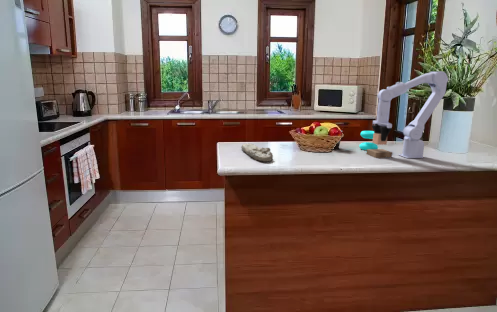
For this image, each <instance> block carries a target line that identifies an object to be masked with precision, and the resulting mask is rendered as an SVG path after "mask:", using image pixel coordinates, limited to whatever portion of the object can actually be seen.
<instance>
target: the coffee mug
mask: <svg viewBox="0 0 497 312" xmlns="http://www.w3.org/2000/svg"><path fill="white" fill-rule="evenodd" d="M340 131H341V132H342V133H343V130H340ZM341 137H342V136H341ZM343 137H344V136H343ZM343 137H342V138H341V140H343ZM341 140H340V141H339V142H338V143H337V144H336V146H335V147H334V149H333V150H339V149H340V145H341Z"/></svg>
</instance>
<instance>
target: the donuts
mask: <svg viewBox="0 0 497 312" xmlns="http://www.w3.org/2000/svg"><path fill="white" fill-rule="evenodd" d="M373 134H374V130H362V131H361V132H360V136H361V137H362V138H363V139H367V140H368V139H369V140H373ZM358 145H359V146H358V147H359V149H361V150H362V151H367V149H379V145H377V144H375V143H372V142H370V141H369V142H368V141H367V142H365V141H364V142H361V143H360V144H358Z"/></svg>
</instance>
